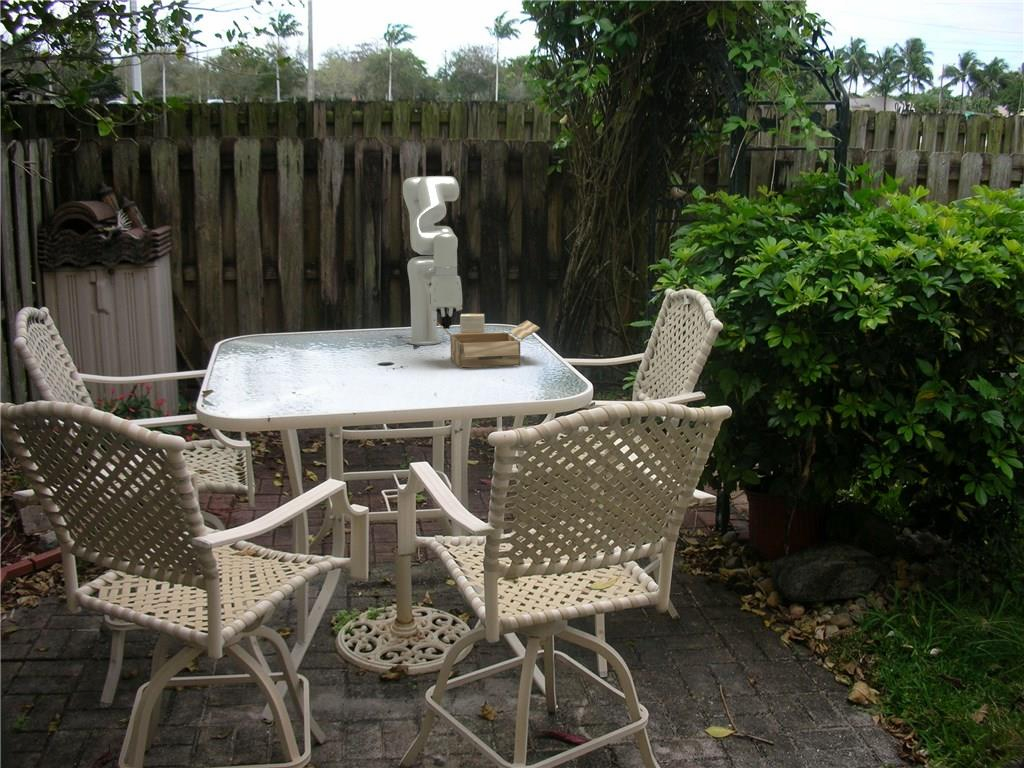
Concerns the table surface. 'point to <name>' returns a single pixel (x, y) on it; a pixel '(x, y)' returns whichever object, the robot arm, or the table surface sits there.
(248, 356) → the table surface
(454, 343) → the wooden crate
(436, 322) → the flap
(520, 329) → the flap
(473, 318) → the supplement box
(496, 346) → the flap
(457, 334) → the flap
